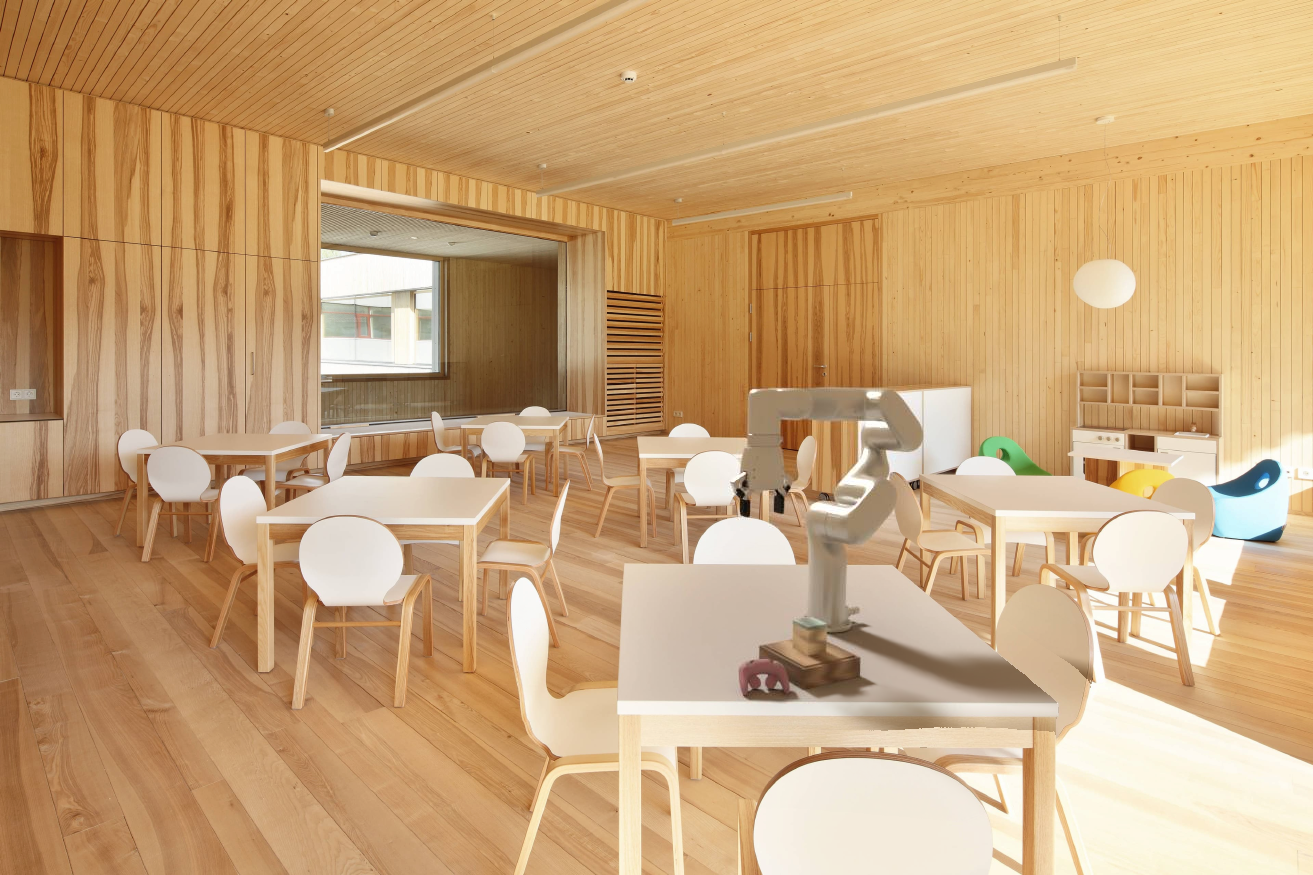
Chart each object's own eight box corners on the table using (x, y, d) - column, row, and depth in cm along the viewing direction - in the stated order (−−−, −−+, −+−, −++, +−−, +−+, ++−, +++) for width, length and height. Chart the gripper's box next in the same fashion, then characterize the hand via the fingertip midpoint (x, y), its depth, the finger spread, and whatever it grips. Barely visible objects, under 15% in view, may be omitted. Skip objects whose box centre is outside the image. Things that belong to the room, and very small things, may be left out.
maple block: (810, 644, 157) (811, 616, 156) (826, 651, 152) (827, 623, 152) (792, 647, 155) (792, 620, 154) (807, 655, 150) (808, 627, 150)
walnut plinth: (812, 652, 164) (813, 633, 164) (859, 675, 151) (860, 655, 150) (758, 663, 157) (759, 644, 157) (803, 689, 144) (803, 668, 143)
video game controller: (786, 695, 144) (783, 659, 147) (792, 694, 140) (788, 656, 143) (737, 696, 144) (735, 660, 146) (742, 695, 140) (739, 657, 142)
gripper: (783, 439, 175) (781, 509, 176) (723, 441, 167) (722, 514, 168) (803, 442, 168) (801, 514, 170) (741, 444, 160) (740, 520, 162)
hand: (762, 514), depth 169 cm, fingers open, 9 cm apart
